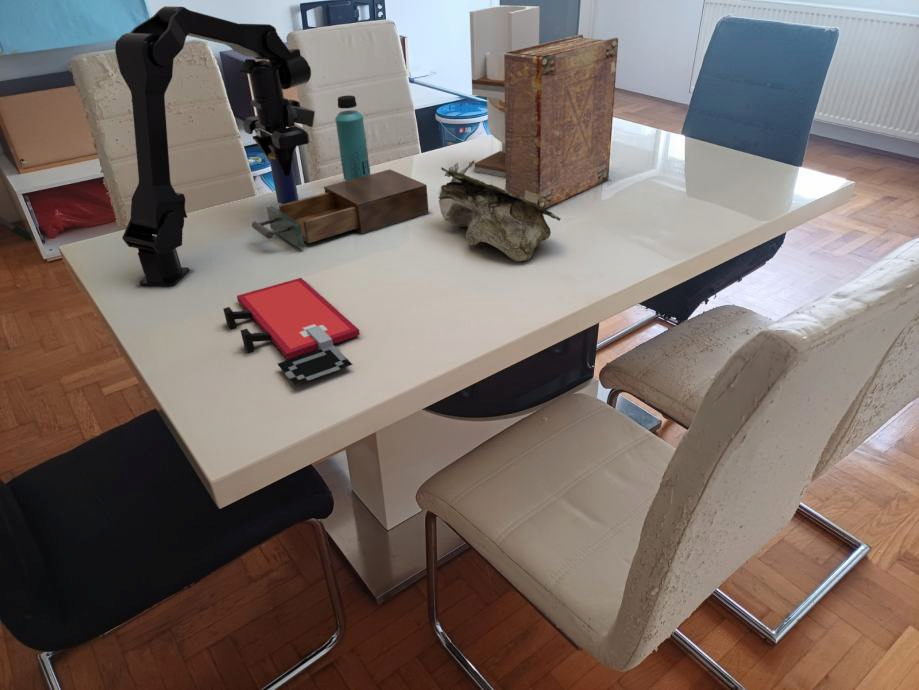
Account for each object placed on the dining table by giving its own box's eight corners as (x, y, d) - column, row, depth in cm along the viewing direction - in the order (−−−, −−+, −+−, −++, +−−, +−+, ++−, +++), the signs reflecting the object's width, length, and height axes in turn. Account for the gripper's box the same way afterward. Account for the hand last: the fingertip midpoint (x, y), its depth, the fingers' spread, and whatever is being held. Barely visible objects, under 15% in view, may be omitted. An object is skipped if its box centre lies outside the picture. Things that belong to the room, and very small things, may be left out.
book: (575, 172, 160) (582, 34, 144) (608, 180, 154) (619, 37, 138) (505, 203, 145) (503, 52, 129) (539, 212, 139) (541, 56, 123)
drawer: (275, 255, 125) (270, 232, 122) (248, 235, 134) (243, 213, 131) (368, 226, 135) (366, 204, 132) (337, 209, 144) (334, 188, 141)
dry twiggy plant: (449, 204, 146) (429, 179, 151) (462, 216, 151) (443, 192, 156) (483, 171, 144) (462, 147, 148) (495, 184, 149) (475, 161, 153)
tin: (294, 204, 141) (286, 156, 136) (273, 204, 142) (264, 156, 137) (302, 196, 145) (293, 150, 140) (281, 196, 146) (272, 150, 140)
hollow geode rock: (449, 239, 141) (400, 201, 131) (483, 188, 141) (437, 146, 130) (534, 284, 120) (484, 242, 110) (574, 224, 120) (528, 177, 110)
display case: (500, 158, 171) (498, 5, 152) (536, 165, 166) (539, 6, 147) (474, 171, 163) (469, 11, 145) (511, 178, 158) (511, 13, 139)
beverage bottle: (367, 189, 156) (356, 99, 145) (339, 188, 157) (327, 99, 147) (375, 180, 161) (365, 93, 151) (349, 179, 163) (337, 93, 152)
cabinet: (361, 234, 134) (357, 204, 130) (328, 215, 143) (323, 186, 140) (428, 213, 142) (426, 184, 138) (392, 196, 151) (390, 169, 148)
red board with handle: (282, 396, 88) (383, 359, 95) (278, 378, 87) (381, 342, 94) (215, 309, 110) (302, 284, 117) (211, 294, 108) (299, 270, 115)
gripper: (327, 94, 129) (338, 174, 138) (286, 81, 142) (298, 155, 151) (273, 104, 124) (288, 187, 132) (235, 90, 137) (251, 166, 145)
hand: (282, 172), depth 140 cm, fingers closed on tin, 4 cm apart
